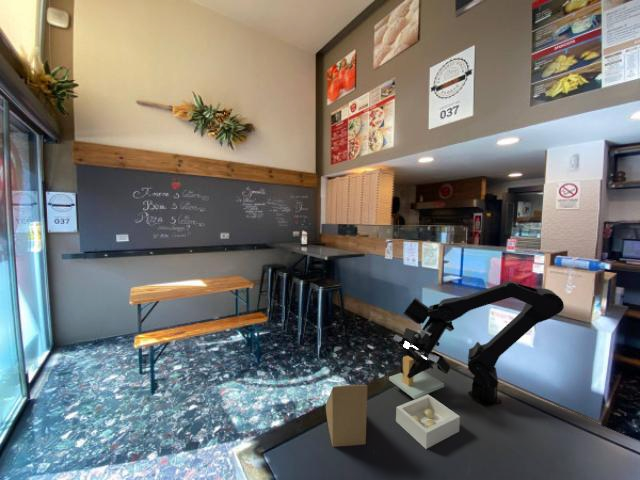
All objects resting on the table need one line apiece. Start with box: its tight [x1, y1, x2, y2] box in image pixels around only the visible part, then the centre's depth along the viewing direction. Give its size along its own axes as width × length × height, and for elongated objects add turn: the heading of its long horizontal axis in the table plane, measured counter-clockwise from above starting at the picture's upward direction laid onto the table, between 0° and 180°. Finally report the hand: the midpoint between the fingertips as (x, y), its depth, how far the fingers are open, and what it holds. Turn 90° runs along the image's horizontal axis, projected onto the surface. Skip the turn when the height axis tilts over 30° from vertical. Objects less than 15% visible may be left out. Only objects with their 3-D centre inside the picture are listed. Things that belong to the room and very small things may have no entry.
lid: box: [388, 356, 445, 400], centre depth 85 cm, size 13×11×10 cm
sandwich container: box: [325, 384, 368, 448], centre depth 72 cm, size 9×15×15 cm, turn 5°
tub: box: [395, 393, 461, 450], centre depth 71 cm, size 12×10×4 cm
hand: (404, 375), depth 83 cm, fingers closed on lid, 2 cm apart
